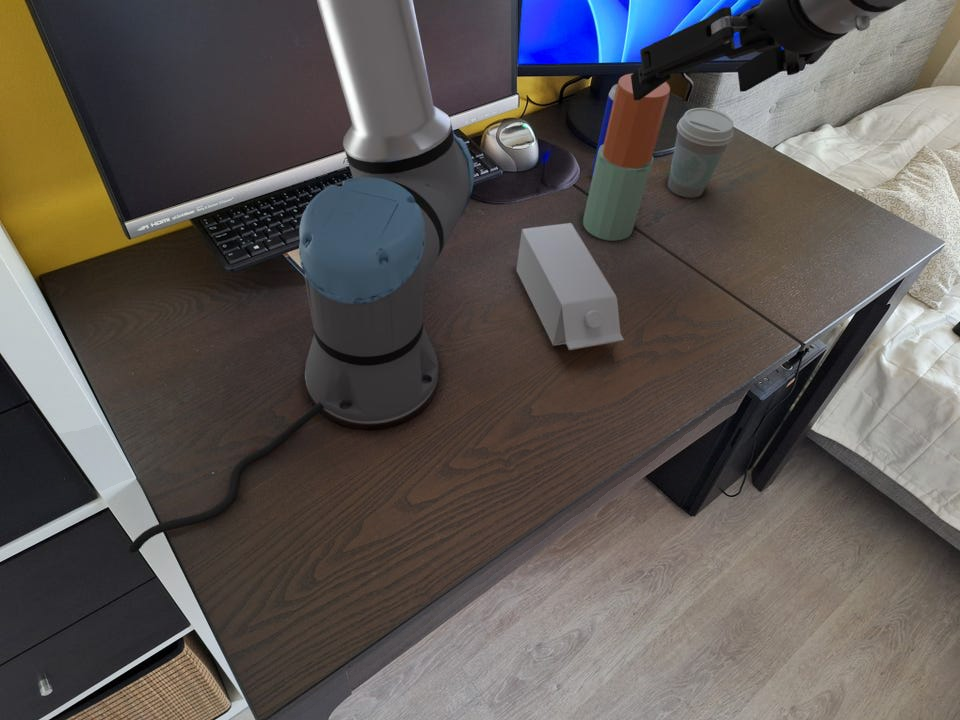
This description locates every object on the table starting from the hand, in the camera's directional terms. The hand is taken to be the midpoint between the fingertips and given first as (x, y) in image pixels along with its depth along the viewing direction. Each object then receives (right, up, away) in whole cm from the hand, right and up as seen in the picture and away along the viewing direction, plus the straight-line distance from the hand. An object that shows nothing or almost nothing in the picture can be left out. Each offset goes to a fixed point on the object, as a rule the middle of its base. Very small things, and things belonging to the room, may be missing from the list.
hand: (689, 83), depth 76 cm
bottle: (-4, -11, +26) cm, 28 cm away
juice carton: (-15, -16, +16) cm, 27 cm away
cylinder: (-3, -3, +17) cm, 17 cm away
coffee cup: (+10, -3, +34) cm, 36 cm away
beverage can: (-3, -1, +35) cm, 35 cm away
